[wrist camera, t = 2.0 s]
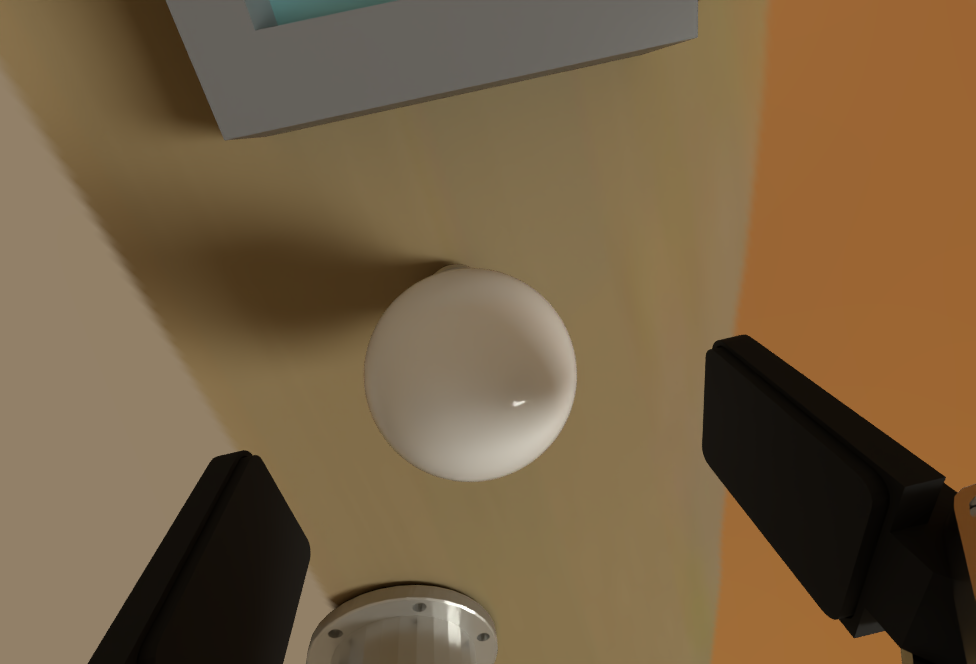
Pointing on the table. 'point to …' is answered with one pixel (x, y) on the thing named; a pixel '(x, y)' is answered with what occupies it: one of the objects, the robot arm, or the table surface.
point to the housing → (399, 51)
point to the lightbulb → (470, 374)
